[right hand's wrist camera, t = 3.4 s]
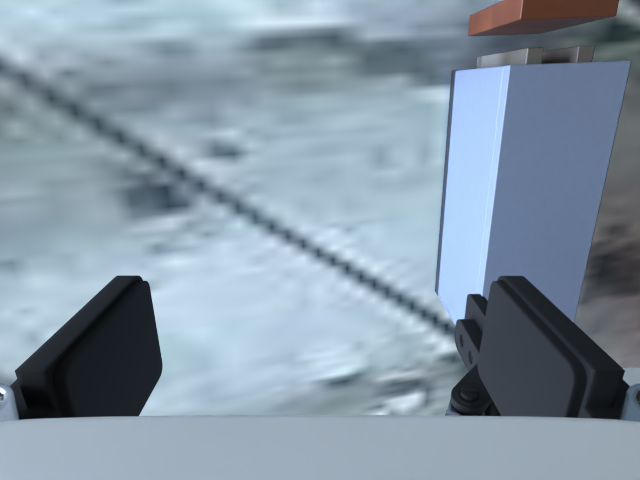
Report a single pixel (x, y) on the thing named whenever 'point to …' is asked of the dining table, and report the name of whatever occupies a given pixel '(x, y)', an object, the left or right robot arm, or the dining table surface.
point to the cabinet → (525, 177)
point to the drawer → (538, 28)
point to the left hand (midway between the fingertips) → (567, 316)
